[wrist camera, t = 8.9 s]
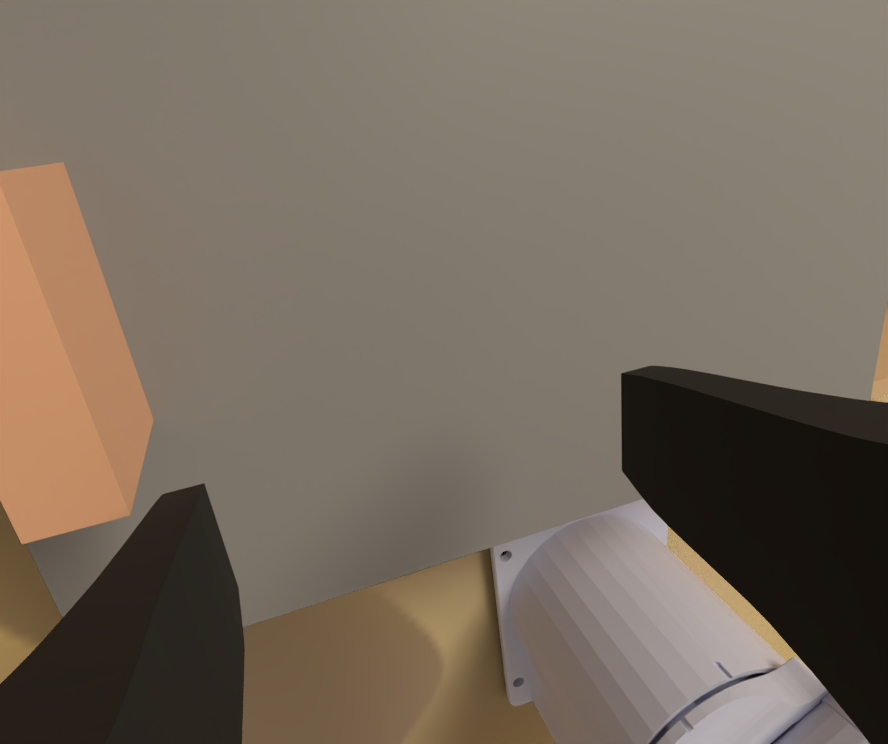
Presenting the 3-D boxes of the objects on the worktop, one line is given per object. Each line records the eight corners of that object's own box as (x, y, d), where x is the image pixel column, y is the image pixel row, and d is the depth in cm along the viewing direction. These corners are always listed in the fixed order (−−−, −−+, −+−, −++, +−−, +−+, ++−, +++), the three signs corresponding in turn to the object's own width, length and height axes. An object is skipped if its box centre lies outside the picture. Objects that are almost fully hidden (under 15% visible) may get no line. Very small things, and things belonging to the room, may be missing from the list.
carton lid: (849, 419, 20) (985, 483, 17) (95, 656, 15) (52, 829, 11) (955, -254, 14) (1222, -394, 10) (-345, -271, 8) (-804, -589, 4)
